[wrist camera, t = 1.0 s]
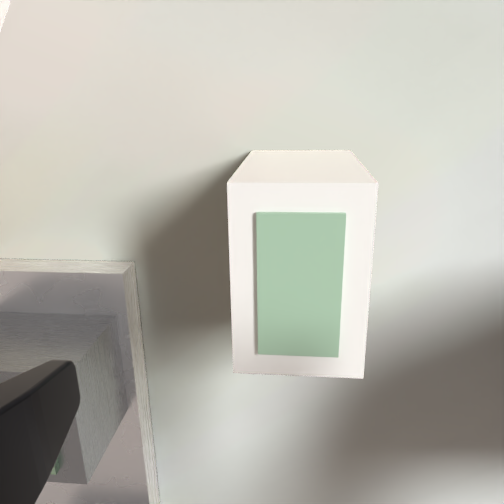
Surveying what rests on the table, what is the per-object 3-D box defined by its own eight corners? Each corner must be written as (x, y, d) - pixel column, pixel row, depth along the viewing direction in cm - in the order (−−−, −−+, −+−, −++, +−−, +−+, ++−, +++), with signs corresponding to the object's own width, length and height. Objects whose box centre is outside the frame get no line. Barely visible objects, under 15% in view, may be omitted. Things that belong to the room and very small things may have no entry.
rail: (134, 261, 21) (70, 328, 15) (169, 594, 28) (135, 727, 22) (-10, 258, 22) (-125, 321, 16) (61, 584, 29) (0, 711, 23)
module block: (350, 149, 19) (379, 184, 12) (342, 286, 21) (364, 381, 14) (252, 150, 19) (226, 183, 12) (253, 283, 21) (232, 375, 14)
